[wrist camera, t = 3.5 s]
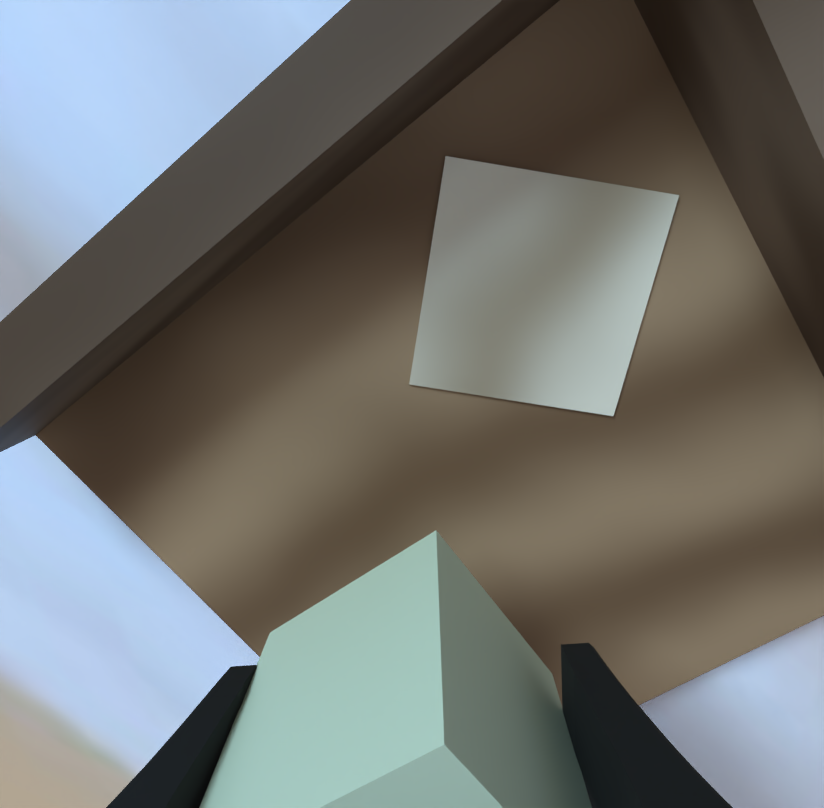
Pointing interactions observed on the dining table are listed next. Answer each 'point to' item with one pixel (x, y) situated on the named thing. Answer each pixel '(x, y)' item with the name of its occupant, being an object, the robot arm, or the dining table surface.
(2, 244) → the dining table surface
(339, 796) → the sage cube
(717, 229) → the arena
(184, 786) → the robot arm
